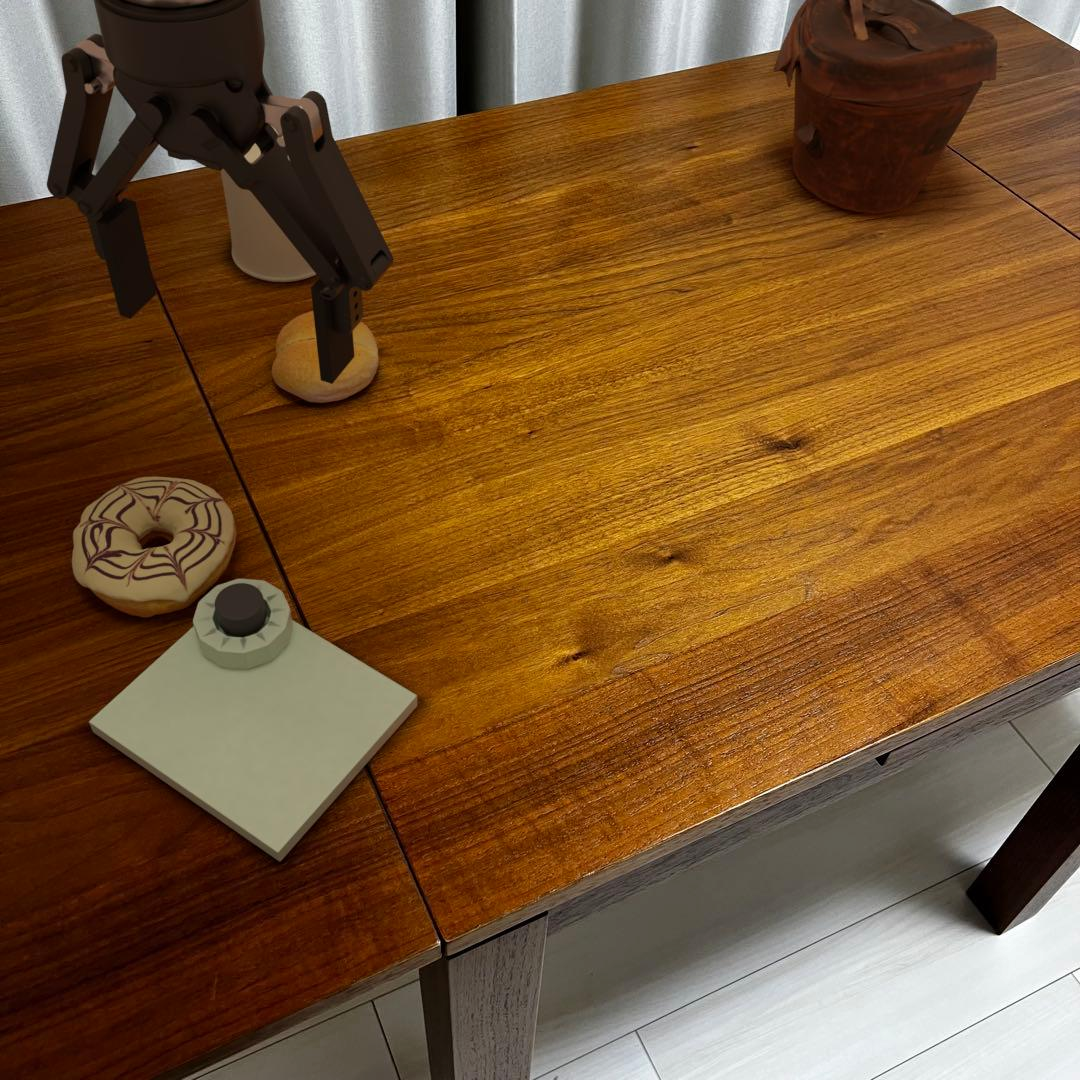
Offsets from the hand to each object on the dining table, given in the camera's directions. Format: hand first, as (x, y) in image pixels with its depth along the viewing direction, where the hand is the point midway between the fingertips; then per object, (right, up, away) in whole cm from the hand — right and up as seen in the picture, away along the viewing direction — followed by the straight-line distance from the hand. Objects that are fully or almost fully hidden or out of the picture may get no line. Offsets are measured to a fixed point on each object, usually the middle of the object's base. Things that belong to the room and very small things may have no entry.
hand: (236, 336), depth 71 cm
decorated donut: (-8, -14, +11) cm, 19 cm away
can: (-5, +13, +35) cm, 38 cm away
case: (+49, +24, +49) cm, 74 cm away
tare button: (-1, -17, +5) cm, 18 cm away
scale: (0, -23, +3) cm, 23 cm away
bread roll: (+1, +2, +25) cm, 25 cm away
